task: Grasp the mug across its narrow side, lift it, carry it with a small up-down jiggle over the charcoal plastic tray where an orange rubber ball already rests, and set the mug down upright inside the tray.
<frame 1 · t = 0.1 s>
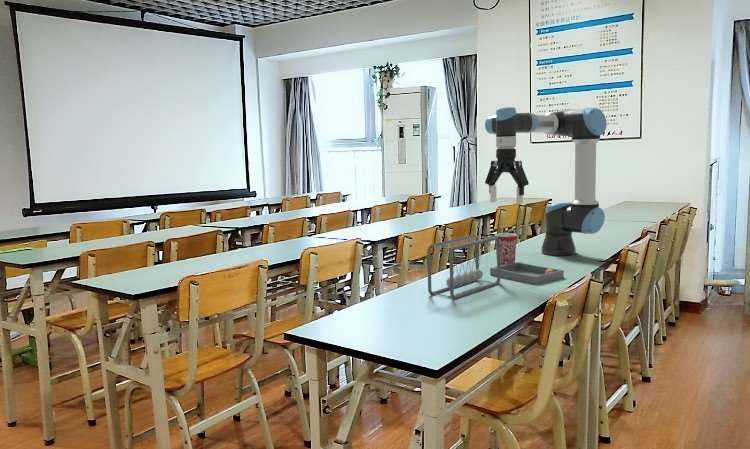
hand: (506, 203, 232), 28 cm above the table, fingers open, 13 cm apart
mug: (508, 266, 249), on the table
newton's cradle: (465, 290, 211), on the table
ball: (549, 277, 223), point 1 cm above the table, touching tray
tray: (526, 277, 226), on the table
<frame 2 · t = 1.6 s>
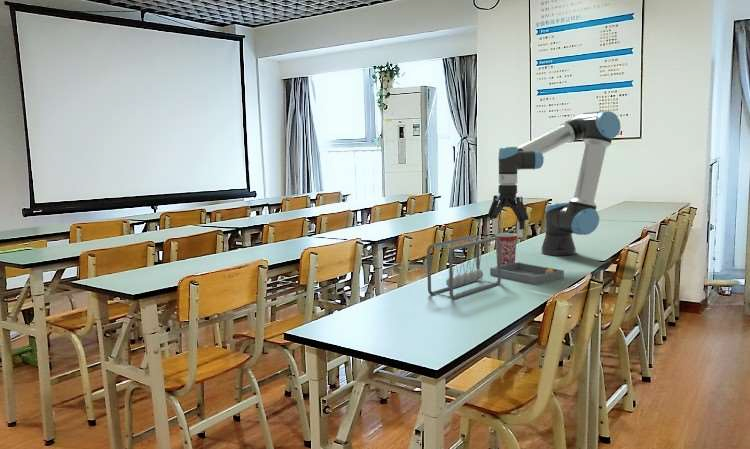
hand: (507, 235, 247), 13 cm above the table, fingers open, 13 cm apart
nothing on the table moved.
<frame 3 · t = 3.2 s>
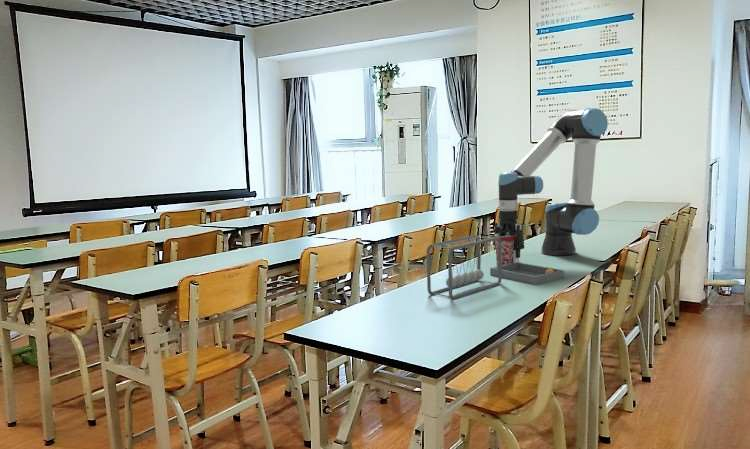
hand: (508, 264, 249), 1 cm above the table, fingers closed on mug, 8 cm apart
mug: (507, 266, 249), on the table, touching gripper
everything else where it was.
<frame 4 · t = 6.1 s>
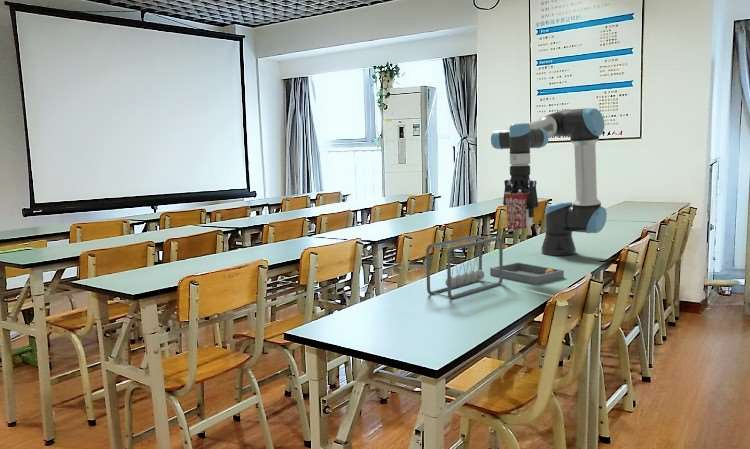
hand: (520, 224, 226), 20 cm above the table, fingers closed on mug, 8 cm apart
mug: (519, 227, 227), point 19 cm above the table, touching gripper
everything else where it was.
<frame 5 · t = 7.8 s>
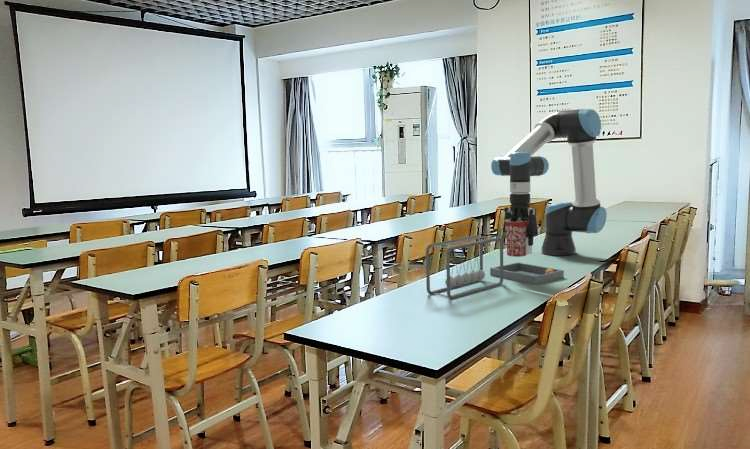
hand: (519, 252, 227), 9 cm above the table, fingers closed on mug, 8 cm apart
mug: (519, 254, 228), point 8 cm above the table, touching gripper
everything else where it was.
when the fingers open (4 cm above the table, at t = 9.2 s): mug drops 2 cm, resting on tray.
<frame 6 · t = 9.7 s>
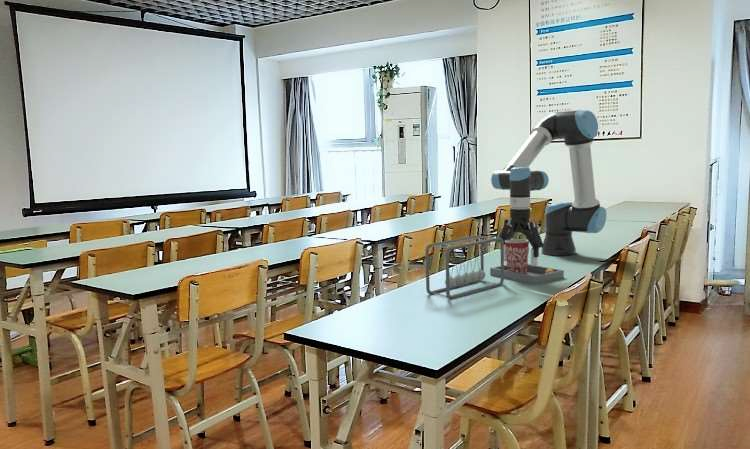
hand: (520, 263, 228), 5 cm above the table, fingers open, 13 cm apart
mug: (519, 275, 229), resting on tray
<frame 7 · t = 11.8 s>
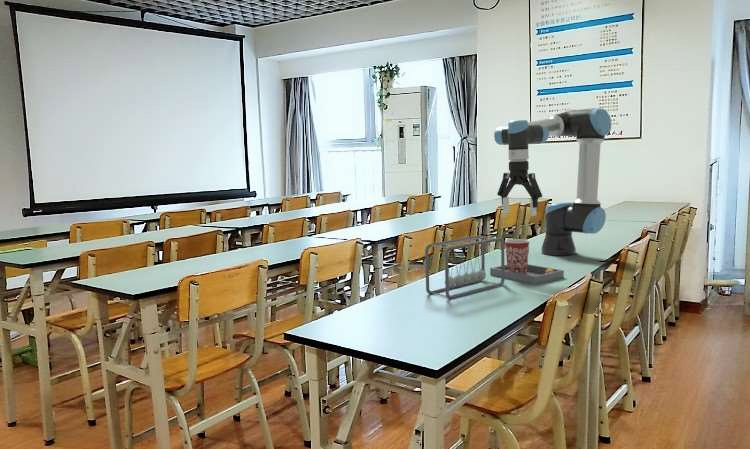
hand: (519, 214, 233), 23 cm above the table, fingers open, 13 cm apart
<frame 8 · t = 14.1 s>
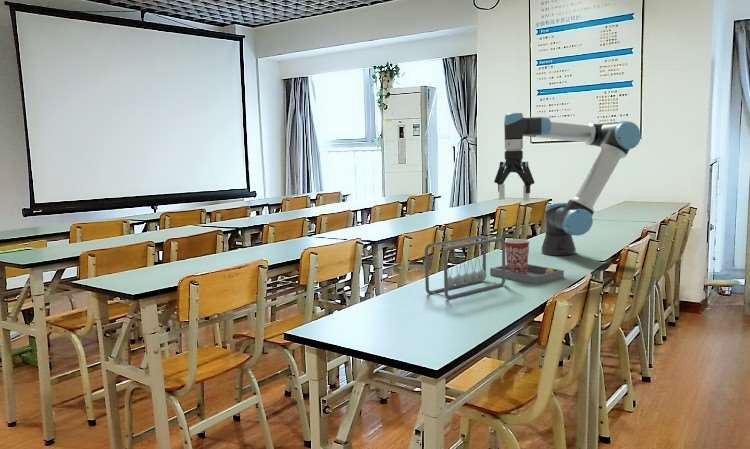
hand: (513, 200, 254), 27 cm above the table, fingers open, 13 cm apart
at the end: mug inside the target area on the tray (3.2 cm from its centre), point 0.4 cm above the tray's base; mug tilted 0°; the gripper is holding nothing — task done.
